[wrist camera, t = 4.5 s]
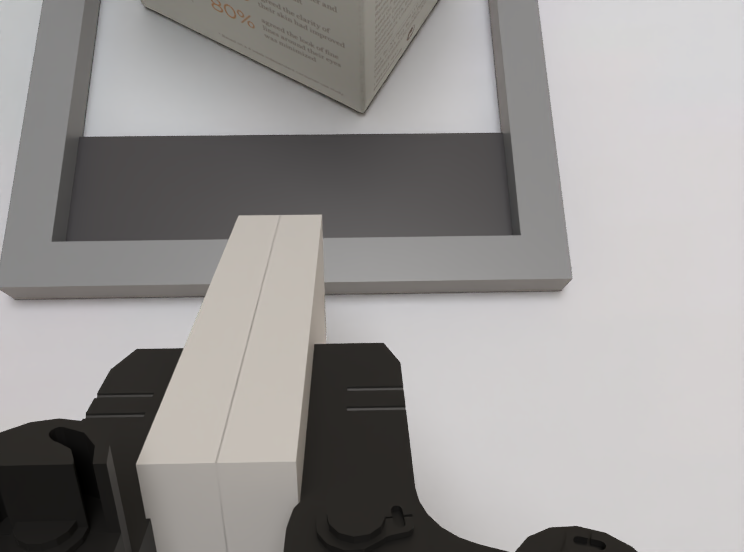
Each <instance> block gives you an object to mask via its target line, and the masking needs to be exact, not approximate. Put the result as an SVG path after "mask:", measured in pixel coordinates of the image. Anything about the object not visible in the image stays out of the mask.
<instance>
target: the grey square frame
mask: <svg viewBox="0 0 744 552" xmlns="http://www.w3.org/2000/svg"><path fill="white" fill-rule="evenodd" d="M99 6H100V0H43V3H42V9H41V16H40V22H39V28H38V34H37V40H36V46H35V52H34V58H33V65H32V71H31V77H30V83H29V89H28V95H27V101H26V107H25V113H24V120H23V126H22V132H21V138H20V144H19V150H18V156H17V162H16V169H15V175H14V181H13V187H12V193H11V199H10V205H9V211H8V217H7V224H6V230H5V236H4V242H3V248H2V254H1V260H0V290H1V291H3V292H4V293H6V294H7V295H9V296H11V297H12V298H14V299H65V298H128V297H191V296H206V293H207V291H208V288H209V286H210V283H211V281H212V279H213V276H214V274H215V271H216V269H217V266H218V264H219V262H220V259H221V257H222V254H223V252H224V249H225V247H226V245H227V242H228V240H229V237H230V235H231V233H232V230H233V228H234V225H235V223H236V220H237V218H238V216H239V215H322V229H323V259H324V288H325V294H381V293H444V292H507V291H561V290H562V289H563V288H564V287H565V286H566V285H567V284H568V283H569V282H570V281H571V280H572V271H571V263H570V255H569V247H568V239H567V231H566V223H565V215H564V207H563V199H562V191H561V183H560V175H559V167H558V159H557V151H556V143H555V136H554V128H553V120H552V112H551V104H550V96H549V88H548V80H547V72H546V64H545V56H544V48H543V40H542V32H541V24H540V16H539V8H538V0H489V10H490V20H491V31H492V41H493V51H494V62H495V72H496V82H497V93H498V103H499V113H500V124H501V133H441V134H336V135H230V136H125V137H83V129H84V121H85V114H86V106H87V98H88V91H89V83H90V75H91V68H92V60H93V52H94V44H95V37H96V29H97V21H98V14H99Z"/></svg>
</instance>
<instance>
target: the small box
mask: <svg viewBox="0 0 744 552" xmlns="http://www.w3.org/2000/svg"><path fill="white" fill-rule="evenodd" d="M437 1H438V0H141V2H142V3H143V5H144V6H146V7H147V8H149V9H151V10H154V11H156V12H158V13H160V14H162V15H164V16H166V17H168V18H170V19H172V20H174V21H176V22H178V23H180V24H182V25H184V26H186V27H188V28H190V29H192V30H194V31H197V32H199V33H201V34H203V35H205V36H207V37H209V38H211V39H213V40H215V41H217V42H219V43H221V44H223V45H225V46H227V47H229V48H231V49H233V50H235V51H237V52H239V53H241V54H243V55H245V56H247V57H249V58H251V59H253V60H255V61H257V62H259V63H261V64H263V65H265V66H267V67H269V68H271V69H273V70H275V71H277V72H279V73H281V74H284V75H286V76H288V77H290V78H292V79H294V80H296V81H298V82H300V83H302V84H304V85H306V86H308V87H310V88H312V89H314V90H316V91H318V92H321V93H323V94H324V95H326V96H328V97H330V98H332V99H334V100H337V101H339V102H341V103H343V104H345V105H347V106H349V107H351V108H353V109H354V110H356V111H358V112H361V113H363V112H364V111H365V110H366V109H367V107H368V105H369V104H370V102H371V101H372V99H373V98H374V96H375V95H376V93H377V92H378V90H379V89H380V87H381V86H382V84H383V83H384V81H385V80H386V78H387V77H388V75H389V74H390V72H391V71H392V69H393V67H394V66H395V64H396V63H397V61H398V60H399V58H400V57H401V55H402V54H403V52H404V51H405V49H406V48H407V46H408V45H409V43H410V42H411V40H412V39H413V37H414V36H415V34H416V33H417V31H418V30H419V28H420V27H421V25H422V24H423V22H424V21H425V19H426V18H427V16H428V15H429V13H430V12H431V10H432V9H433V7H434V6H435V4H436V3H437Z"/></svg>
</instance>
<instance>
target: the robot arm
mask: <svg viewBox="0 0 744 552" xmlns="http://www.w3.org/2000/svg"><path fill="white" fill-rule="evenodd" d="M0 552H507V551H503V550H499V549H495V548H491V547H487V546H483V545H479V544H476V543H474V542H471V541H468V540H465V539H462V538H459V537H457V536H456V535H454V534H452V533H451V532H449V531H447V530H445V529H444V528H442V527H441V526H440V525H439V524H437V523H436V522H435V521H434V520H433V519H432V518H431V517H430V516H429V515H428V514H427V513H426V511H425V510H424V508H423V506H422V505H421V503H420V502H419V499H418V496H417V492H416V489H415V483H414V474H413V466H412V457H411V449H410V440H409V432H408V423H407V415H406V410H405V398H404V391H403V381H402V373H401V364H400V362H399V360H398V359H397V358H396V357H395V356H394V355H393V353H392V352H391V351H390V350H389V349H388V348H387V346H386V345H385V344H384V343H348V344H326V318H325V288H324V259H323V229H322V215H239V216H238V218H237V220H236V223H235V225H234V228H233V230H232V233H231V235H230V237H229V240H228V242H227V245H226V247H225V249H224V252H223V254H222V257H221V259H220V262H219V264H218V266H217V269H216V271H215V274H214V276H213V279H212V281H211V283H210V286H209V288H208V291H207V293H206V296H205V298H204V300H203V303H202V305H201V308H200V310H199V312H198V315H197V317H196V320H195V322H194V325H193V327H192V329H191V332H190V334H189V337H188V339H187V342H186V344H185V346H184V348H176V349H136V350H135V351H134V352H132V353H131V354H130V355H129V356H127V357H126V358H125V359H123V360H122V361H121V362H120V363H118V364H117V365H116V366H115V367H113V368H112V369H111V370H110V372H109V373H108V375H107V377H106V379H105V381H104V382H103V384H102V386H101V388H100V389H99V391H98V393H97V398H94V400H93V402H92V404H91V405H90V407H89V409H88V411H87V412H86V419H83V420H82V421H77V420H68V419H52V420H44V421H37V422H30V423H27V424H24V425H21V426H18V427H15V428H12V429H9V430H6V431H3V432H1V433H0ZM515 552H637V551H636V550H635V549H634V548H633V547H631V546H629V545H627V544H626V543H624V542H622V541H620V540H618V539H616V538H614V537H612V536H610V535H609V534H607V533H604V532H600V531H595V530H591V529H587V528H583V527H578V526H570V527H551V528H548V529H545V530H543V531H541V532H538V533H536V534H534V535H531V536H529V537H527V539H526V540H525V541H524V542H523V543H522V544H521V546H520V547H519V548H518V549H517V550H516V551H515Z"/></svg>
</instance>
